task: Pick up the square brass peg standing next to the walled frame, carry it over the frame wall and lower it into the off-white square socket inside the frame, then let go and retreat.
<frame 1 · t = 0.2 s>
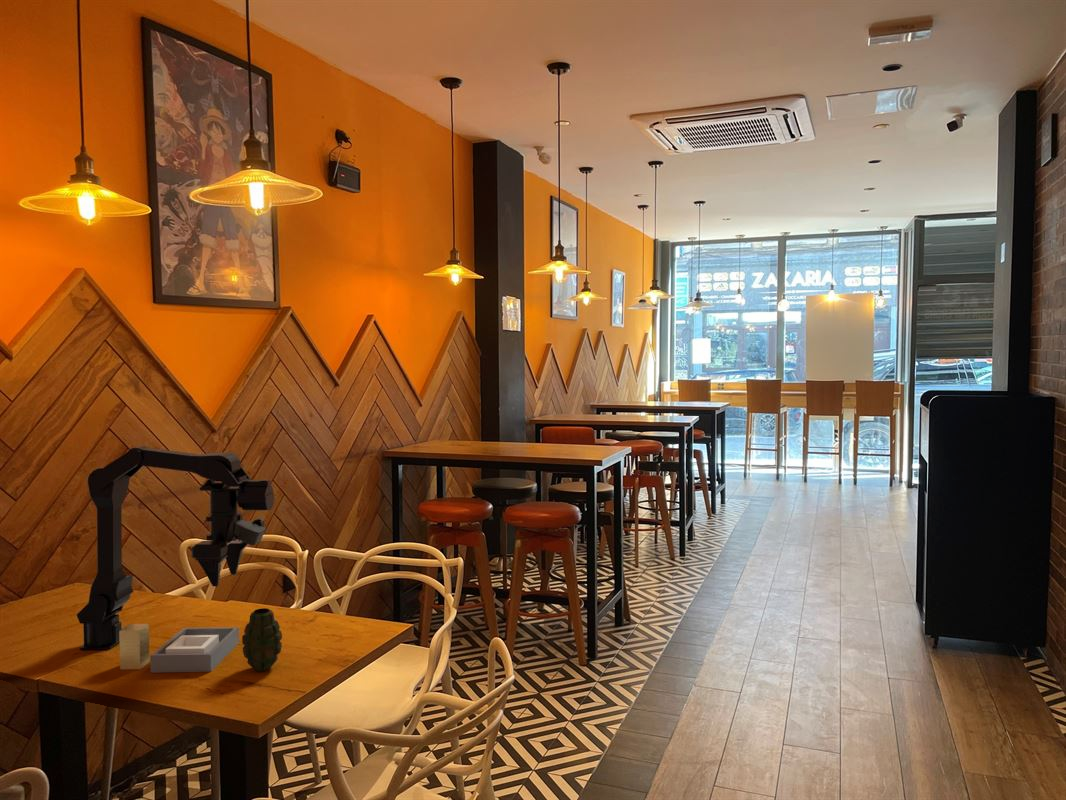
hand: (224, 580, 166), 14 cm above the table, fingers open, 9 cm apart
grenade: (262, 669, 153), on the table
walled frame: (197, 656, 159), on the table
peg: (135, 665, 155), on the table
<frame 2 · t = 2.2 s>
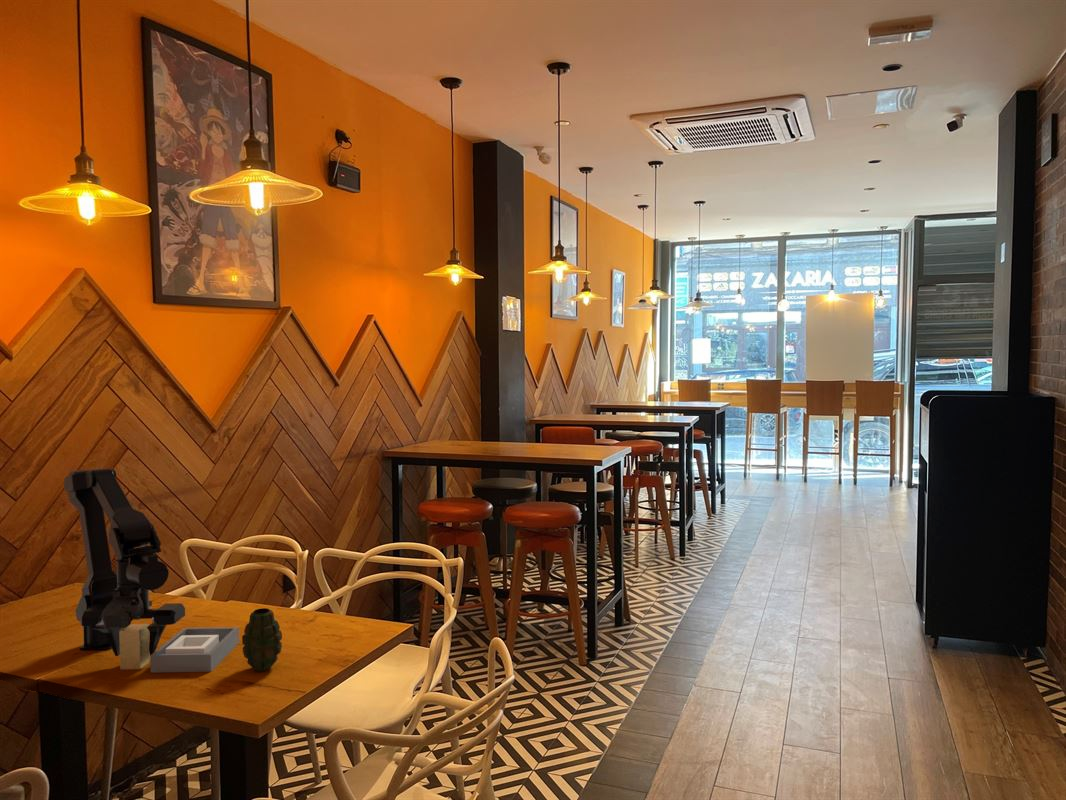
hand: (134, 655, 155), 2 cm above the table, fingers open, 7 cm apart
nothing on the table moved.
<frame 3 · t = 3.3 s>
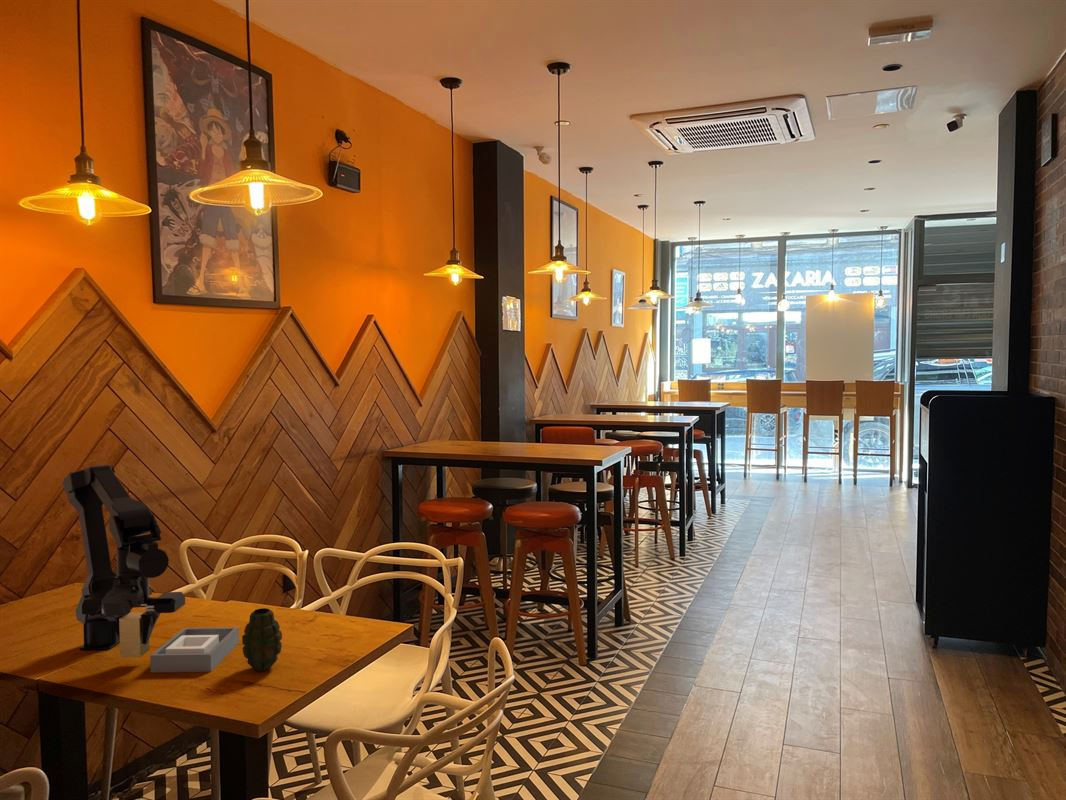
hand: (134, 643, 155), 5 cm above the table, fingers closed on peg, 4 cm apart
peg: (135, 653, 155), point 2 cm above the table, touching gripper
everything else where it was.
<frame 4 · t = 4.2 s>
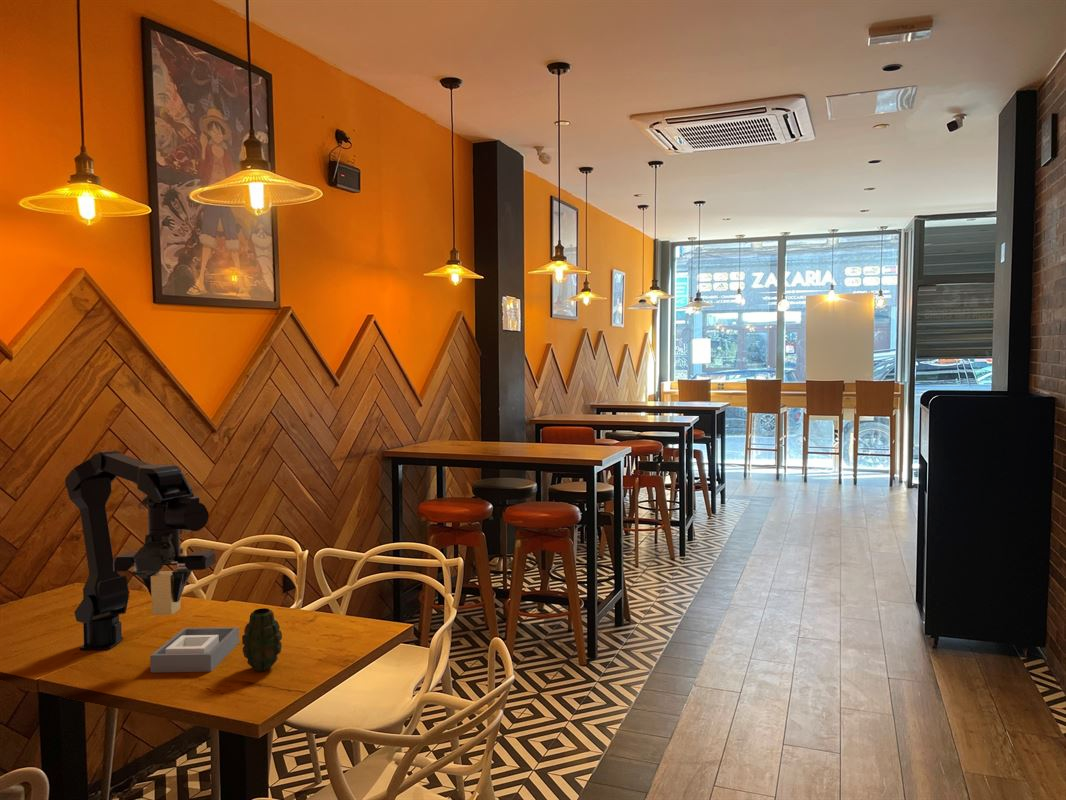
hand: (166, 601, 155), 13 cm above the table, fingers closed on peg, 4 cm apart
peg: (166, 611, 155), point 11 cm above the table, touching gripper
everything else where it was.
when the fingers open (4 cm above the table, at t = 6.0 s): peg drops 2 cm, resting in walled frame.
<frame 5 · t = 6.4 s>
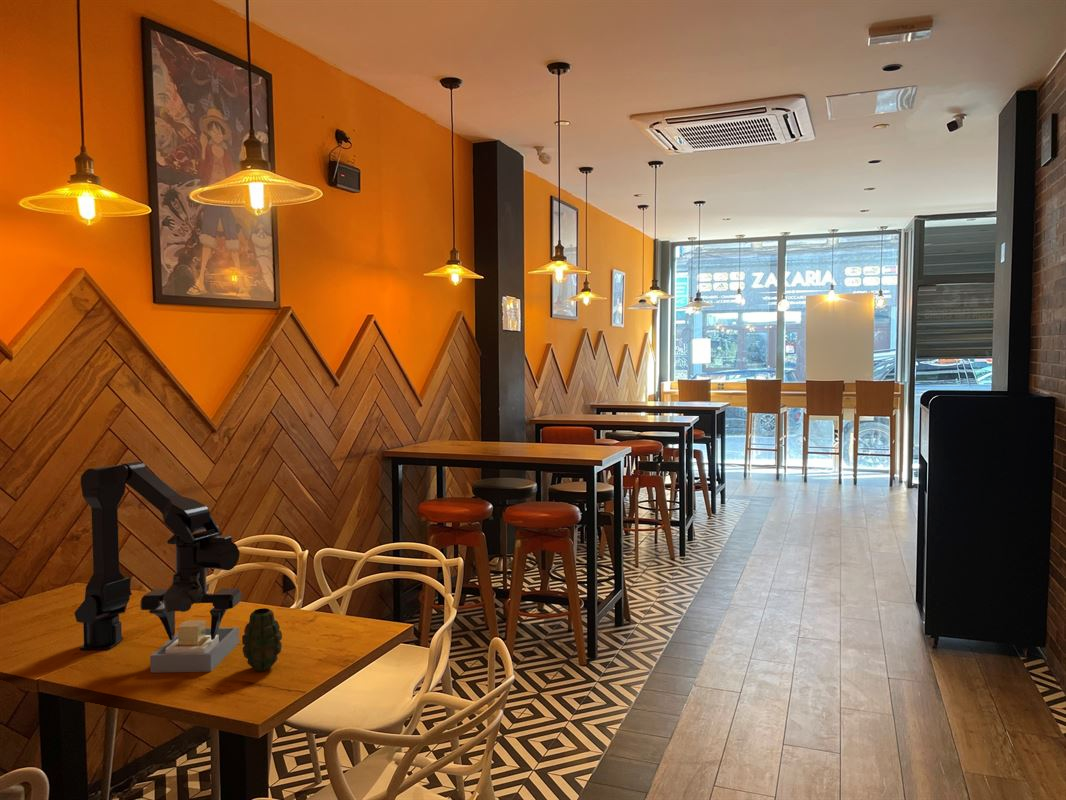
hand: (192, 639, 157), 4 cm above the table, fingers open, 8 cm apart
peg: (192, 660, 157), resting in walled frame
everything else where it was.
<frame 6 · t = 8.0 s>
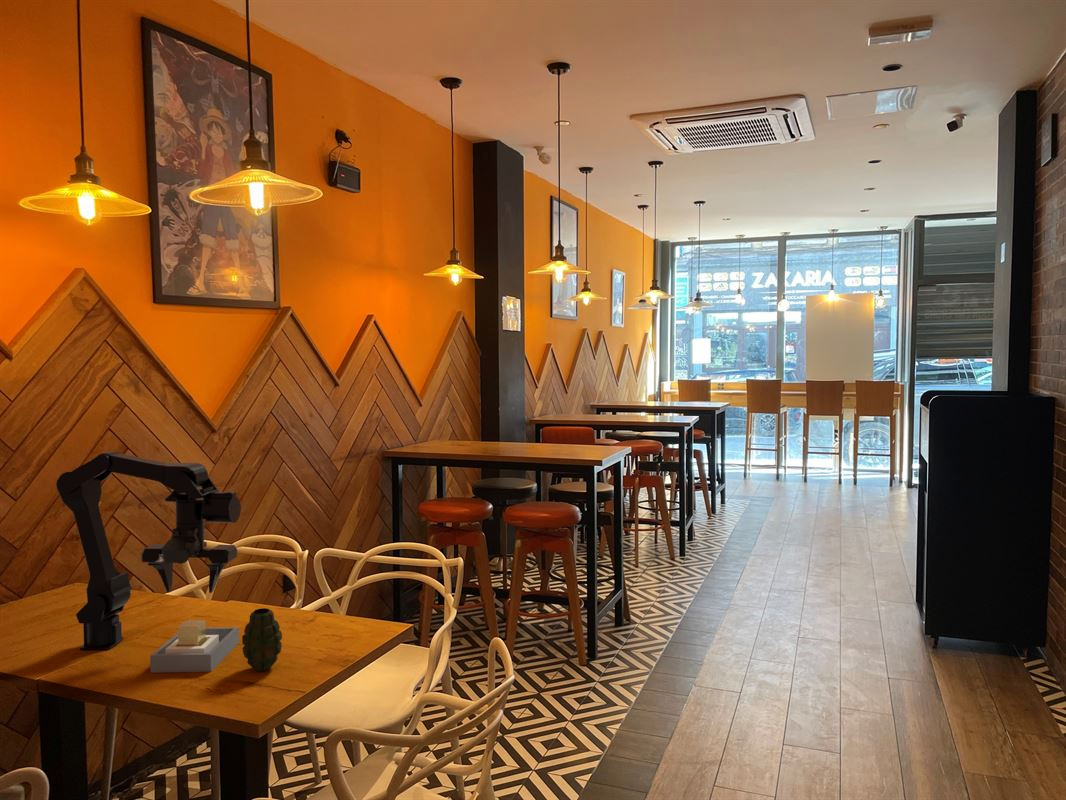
hand: (190, 592, 165), 12 cm above the table, fingers open, 9 cm apart
nothing on the table moved.
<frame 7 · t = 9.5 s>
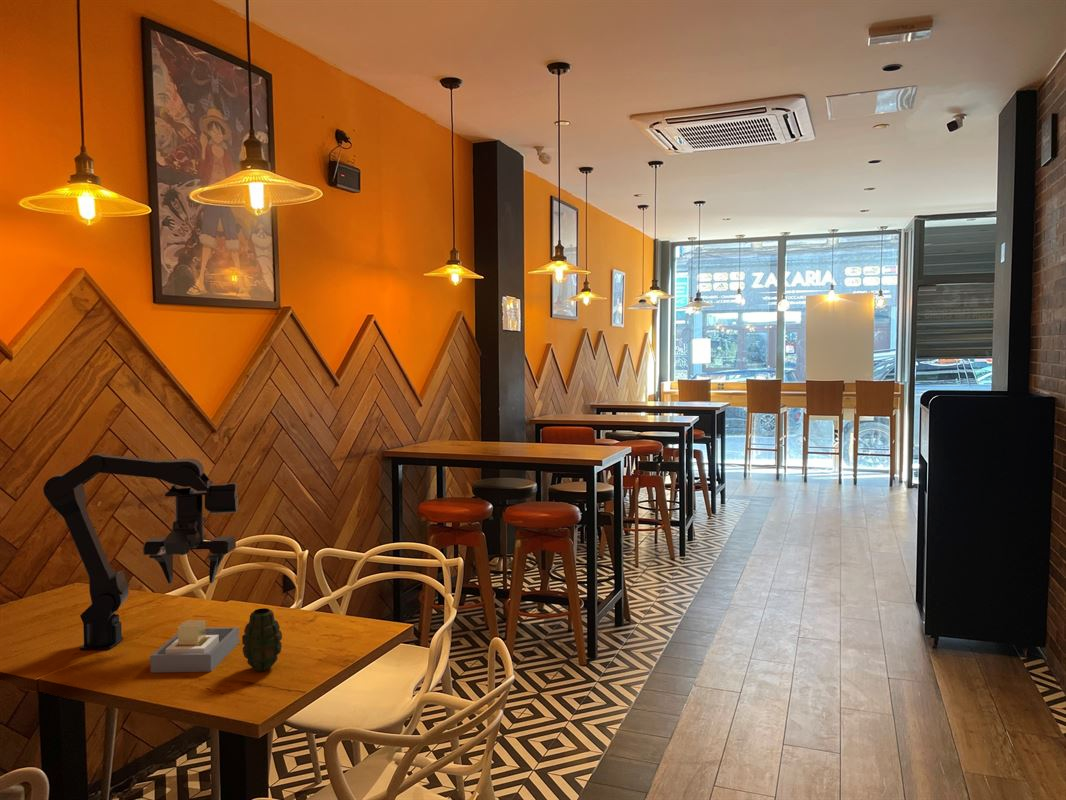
hand: (190, 582, 171), 13 cm above the table, fingers open, 9 cm apart
nothing on the table moved.
at the end: peg 0.1 cm from the target spot, resting in walled frame; peg tilted 0°; the gripper is holding nothing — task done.
